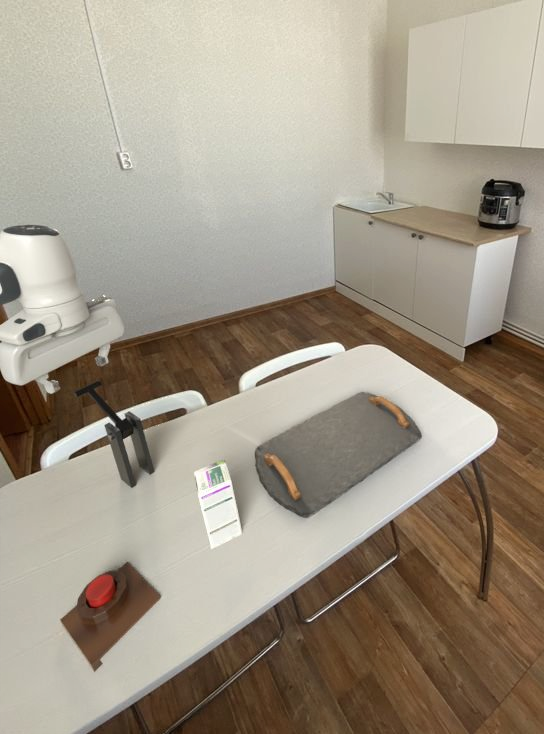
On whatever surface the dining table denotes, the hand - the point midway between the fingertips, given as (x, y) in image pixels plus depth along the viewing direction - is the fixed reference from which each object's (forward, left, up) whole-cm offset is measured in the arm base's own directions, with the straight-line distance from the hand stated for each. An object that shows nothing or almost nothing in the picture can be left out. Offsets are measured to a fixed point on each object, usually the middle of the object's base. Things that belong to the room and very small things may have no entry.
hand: (79, 377), depth 75 cm
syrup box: (+31, +5, -27) cm, 41 cm away
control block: (+27, -13, -27) cm, 40 cm away
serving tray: (+38, +33, -27) cm, 57 cm away
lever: (-2, +3, -11) cm, 12 cm away
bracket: (+5, +3, -27) cm, 27 cm away
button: (+25, -13, -23) cm, 37 cm away
